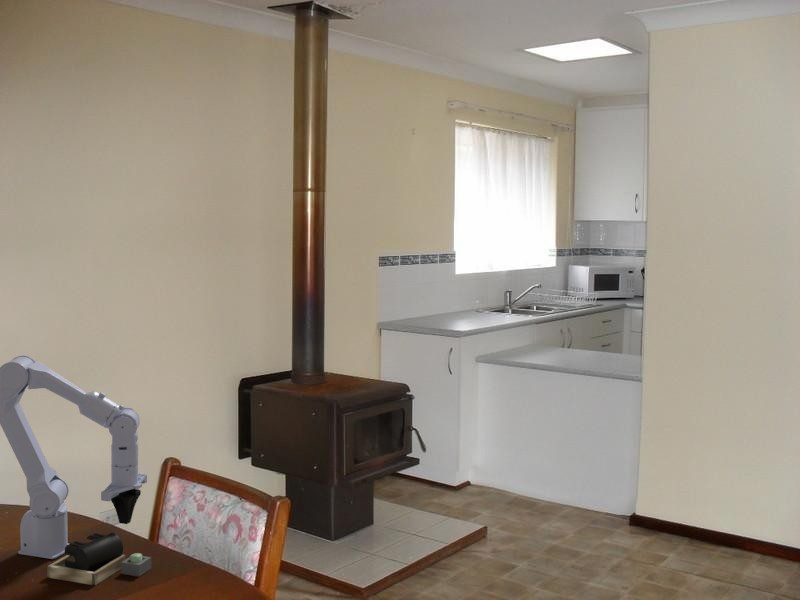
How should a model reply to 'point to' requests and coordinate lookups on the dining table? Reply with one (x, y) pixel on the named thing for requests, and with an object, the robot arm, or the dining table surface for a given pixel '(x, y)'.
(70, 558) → the cream square frame
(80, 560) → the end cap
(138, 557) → the button
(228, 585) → the dining table surface
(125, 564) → the button housing
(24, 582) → the dining table surface
